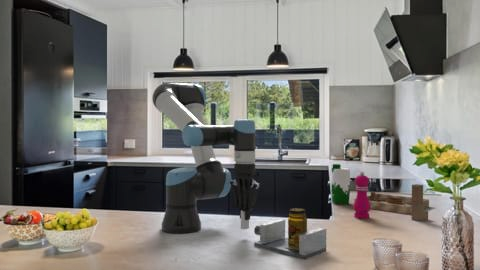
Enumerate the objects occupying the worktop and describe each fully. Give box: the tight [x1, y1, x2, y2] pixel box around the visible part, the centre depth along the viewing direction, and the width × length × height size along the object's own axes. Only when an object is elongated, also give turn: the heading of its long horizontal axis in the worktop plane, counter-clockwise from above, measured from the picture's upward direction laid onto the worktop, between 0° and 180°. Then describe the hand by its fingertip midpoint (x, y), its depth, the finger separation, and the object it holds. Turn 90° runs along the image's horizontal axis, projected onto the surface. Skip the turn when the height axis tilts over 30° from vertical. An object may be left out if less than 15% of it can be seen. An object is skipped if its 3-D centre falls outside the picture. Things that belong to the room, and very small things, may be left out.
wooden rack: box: [370, 191, 410, 206], centre depth 208 cm, size 18×20×6 cm
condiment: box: [284, 207, 308, 250], centre depth 134 cm, size 7×8×12 cm
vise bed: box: [254, 227, 327, 260], centre depth 136 cm, size 20×12×7 cm, turn 47°
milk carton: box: [330, 163, 351, 205], centre depth 215 cm, size 9×9×20 cm
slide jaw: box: [253, 218, 286, 244], centre depth 143 cm, size 8×11×6 cm
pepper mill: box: [352, 171, 372, 220], centre depth 182 cm, size 7×7×20 cm
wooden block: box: [410, 183, 429, 222], centre depth 178 cm, size 7×3×15 cm, turn 117°
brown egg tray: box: [353, 193, 430, 215], centre depth 207 cm, size 27×25×4 cm
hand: (244, 228), depth 149 cm, fingers closed
